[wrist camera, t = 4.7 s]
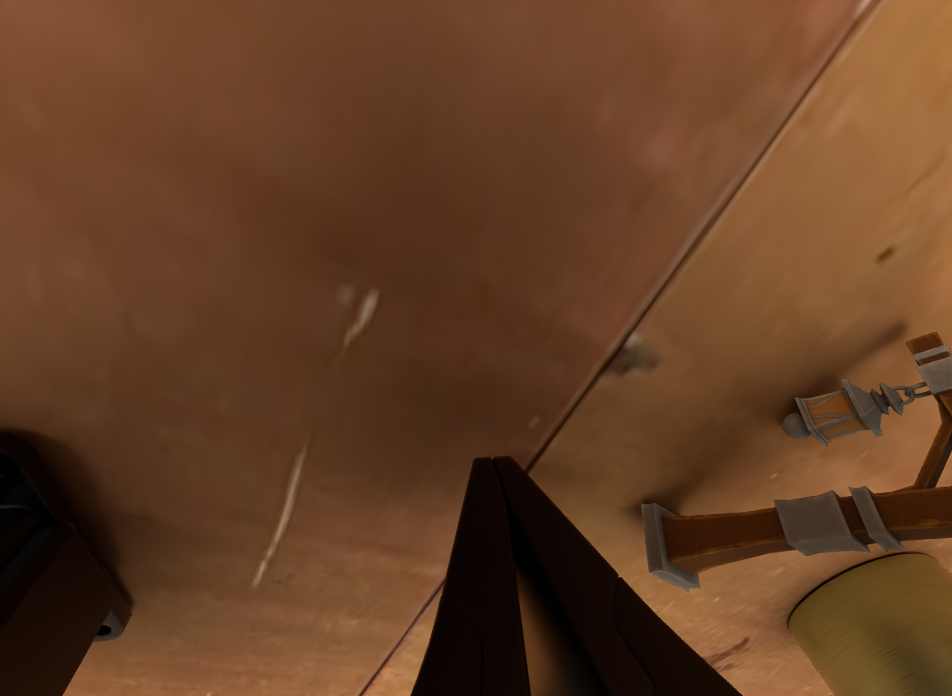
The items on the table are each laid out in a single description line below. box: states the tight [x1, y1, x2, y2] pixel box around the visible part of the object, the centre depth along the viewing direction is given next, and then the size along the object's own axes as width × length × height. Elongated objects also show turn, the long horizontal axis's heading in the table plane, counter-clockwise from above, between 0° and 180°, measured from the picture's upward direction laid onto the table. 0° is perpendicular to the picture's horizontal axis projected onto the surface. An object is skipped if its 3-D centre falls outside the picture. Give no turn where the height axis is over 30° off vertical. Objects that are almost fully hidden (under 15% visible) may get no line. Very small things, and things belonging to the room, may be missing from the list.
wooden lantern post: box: [641, 332, 952, 592], centre depth 10 cm, size 2×8×4 cm, turn 140°
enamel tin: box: [789, 553, 952, 696], centre depth 14 cm, size 6×6×6 cm
